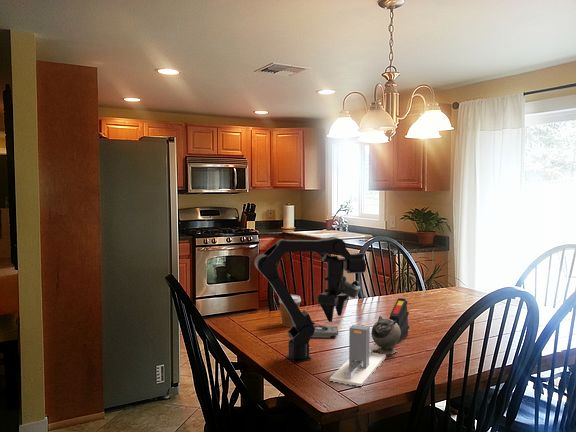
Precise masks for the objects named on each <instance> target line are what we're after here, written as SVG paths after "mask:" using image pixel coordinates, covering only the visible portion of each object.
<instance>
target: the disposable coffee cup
mask: <svg viewBox="0 0 576 432" xmlns="http://www.w3.org/2000/svg"><path fill="white" fill-rule="evenodd" d="M290 295H291V297H292V298H293V300H294V301H295V303H296V305H297V306H298V308H299V309H300V305H301V302H302V299H301V296H300V295H297V294H290ZM278 302H279V308H280V314H281V315H280V316H281V322H282V326H283V327H288V328H292V327H293V324H292V321H291V318H290V315H289V313H288V311H287V310H286V308H285V306H284V305H283V303H282V302H281V300H280V298H279V297H278Z"/></svg>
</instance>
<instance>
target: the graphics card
mask: <svg viewBox="0 0 576 432" xmlns="http://www.w3.org/2000/svg"><path fill="white" fill-rule="evenodd" d="M314 327H315V331H314V334H313V335H312V336H311V338H331V337H332V336H335V337H336V336H339V328H338V326H337V325H314Z"/></svg>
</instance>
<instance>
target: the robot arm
mask: <svg viewBox="0 0 576 432" xmlns="http://www.w3.org/2000/svg"><path fill="white" fill-rule="evenodd" d="M346 245H347V244H346V242H345V241H344V239H342V238H339V237H335V236H329V237H324V238H320V239H315V240H314V239H312V240H311V239H283V238H280V239H277V241H276V242H275V243H274V244H273V245H272V246H270V247H269V248H267V249H266V251H264V252H263V253H261V254H258V255H257V256H256V257H255V259H254V262H253V263H254V266H255V268H256V269H257V270H258V272H260V274H261V275H263V277H264V278H265V279H266V280H267V281H268V282H269V284H270V285H271V287H272V289H273V290H274V292H275V293H276V295H277V296H278V299H279V298H280V300H281V302H282V303H283V305H284V306H285V308H286V310H287V311H288V313H289V315H290V318H291V321H292V324H293V327H290V328H289V330H288V331H287V336H288V338H289V339H290V340H288V355H285V358H286V359H288V360H289V361H292V362H294V363H301V362H305V361H308V360H311V359H312V357H311V356H310V340H311V338H312V337H311V336H312V335H313V334H314V331H315V327H314V326H315V322H314V321H313V320H312V318H311V316H310V314H309V313H308V312H307V311H306V310H305V309H303V310H302V311H301V310H300V307H299V308H298V306H297V305H296V303H295V301H294V300H293V298H292V297H291V295H292V294H290V292H289V291H288V289H287V287H286V285H285V283H284V282H283V280H282V279H281V277H280V274H279V270H278V268H277V264H278V263H279V261H280V260H281V259H282V257H283V256H284V255H285V254H286V253H287V252H289V253H290V252H292V253H293V252H294V253H295V252H299V253H300V252H304V253H305V252H308V253H309V252H311V253H312V252H315V253H317V252H318V253H324V255H323V256H322V257H321V258H320V260H321V261H322V262H323V263H326V276H325V277H324V281H326V288H325V289H324V292H322V293H319V294H318V295H317V297H316V302H317V304H319V305H320V307H321V309H322V311H323V312H324V315H325V317H326V319H327V322H328V323H333V319H334V311H335V310H336V313H337V316H342V315H343V310H344V306H345V303H346V300H347V299H348V298H352V299H355V298H356V297H358V296H359V294H360V291H361V286H360V281H358V280H356V279H355V280H354V281H352V282H351V281H347V277H346V276H345V275H344V272H345V271H346V273H347V274H364V273H365V272H366V271H367V263H366V260H365V257H364V253H362V252H360V253H358V252H357V253H350V252H349V250H348V249H347V248H346ZM338 256H340V257H342V258H339V257H338Z"/></svg>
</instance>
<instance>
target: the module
mask: <svg viewBox="0 0 576 432" xmlns="http://www.w3.org/2000/svg"><path fill="white" fill-rule="evenodd" d="M348 328H349V334H348V335H349V337H348V340H349V342H348V345H349V346H348V356H349V357H348V360H349V366H351V365H352V364H353V363H354V362H355V361H356V360H357V361H363V368H364V369H366V368H367V367H368V366H369V349H370V338H371V337H370V335H371V334H370V330H371V329H370V326H365V325H364V326H363V325H357V324H353V325H351V326H350V327H348Z"/></svg>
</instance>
